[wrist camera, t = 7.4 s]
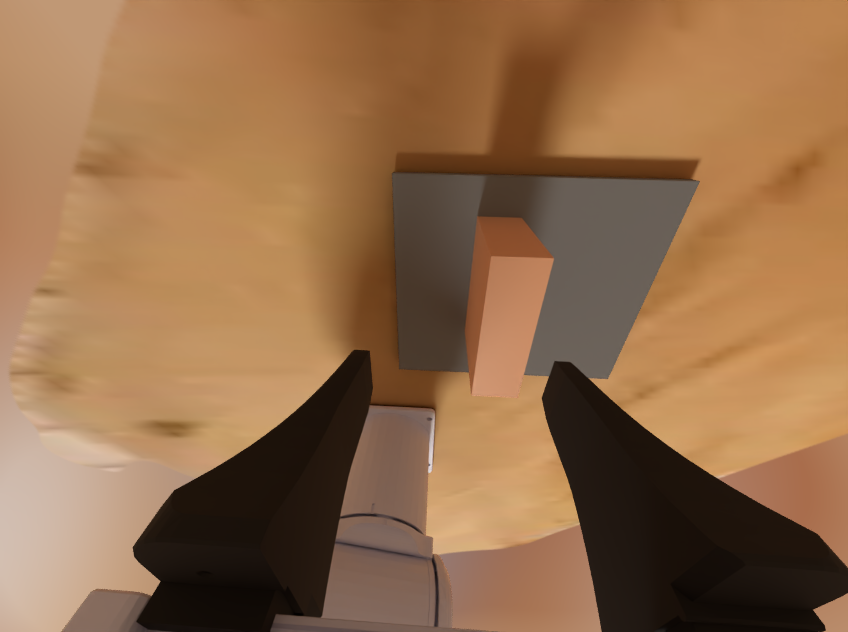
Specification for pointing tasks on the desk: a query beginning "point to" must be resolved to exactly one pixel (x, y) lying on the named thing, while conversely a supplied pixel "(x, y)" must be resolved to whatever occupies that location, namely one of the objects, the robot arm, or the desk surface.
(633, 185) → the mat
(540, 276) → the slab
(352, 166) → the desk surface
